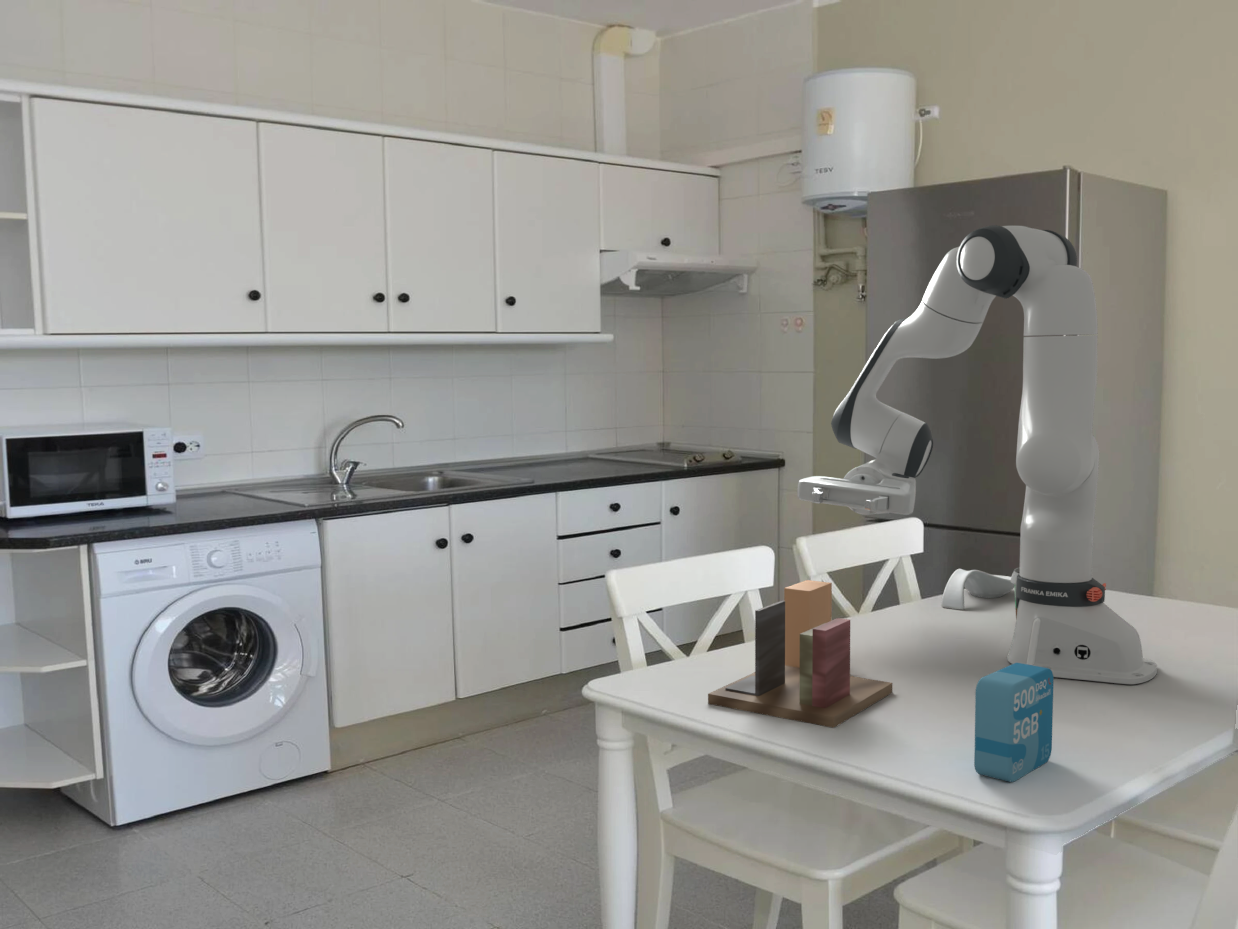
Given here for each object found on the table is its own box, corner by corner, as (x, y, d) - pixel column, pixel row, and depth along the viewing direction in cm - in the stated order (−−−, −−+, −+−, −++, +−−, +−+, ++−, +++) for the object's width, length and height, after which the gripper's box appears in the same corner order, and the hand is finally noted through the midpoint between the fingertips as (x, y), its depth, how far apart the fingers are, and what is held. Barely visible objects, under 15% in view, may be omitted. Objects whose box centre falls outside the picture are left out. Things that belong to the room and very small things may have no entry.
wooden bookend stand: (892, 692, 180) (893, 600, 179) (833, 727, 164) (834, 626, 162) (773, 672, 192) (773, 586, 190) (708, 703, 175) (707, 609, 174)
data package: (1008, 786, 142) (1010, 686, 141) (973, 777, 145) (974, 679, 144) (1052, 760, 150) (1054, 666, 149) (1017, 752, 154) (1019, 659, 152)
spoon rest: (971, 587, 258) (972, 554, 257) (1026, 593, 251) (1026, 559, 250) (925, 607, 239) (925, 571, 239) (982, 614, 232) (983, 578, 231)
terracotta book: (831, 660, 199) (831, 582, 198) (809, 671, 192) (809, 591, 191) (806, 656, 201) (806, 579, 200) (784, 667, 195) (784, 588, 194)
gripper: (813, 465, 219) (785, 476, 207) (924, 479, 210) (902, 491, 198) (811, 498, 221) (783, 511, 209) (921, 514, 211) (899, 528, 199)
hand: (842, 502), depth 203 cm, fingers open, 8 cm apart
